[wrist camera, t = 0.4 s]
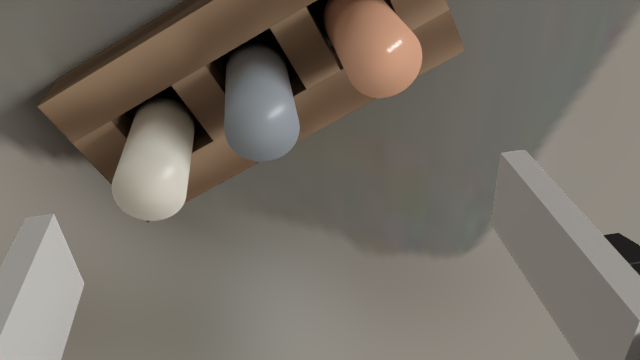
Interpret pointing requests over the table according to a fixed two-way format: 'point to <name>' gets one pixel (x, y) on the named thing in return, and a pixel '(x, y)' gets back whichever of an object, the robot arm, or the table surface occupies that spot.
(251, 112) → the grey-blue rounded cylinder
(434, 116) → the table surface
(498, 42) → the table surface
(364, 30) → the peach rounded peg
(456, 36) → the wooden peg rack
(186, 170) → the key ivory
